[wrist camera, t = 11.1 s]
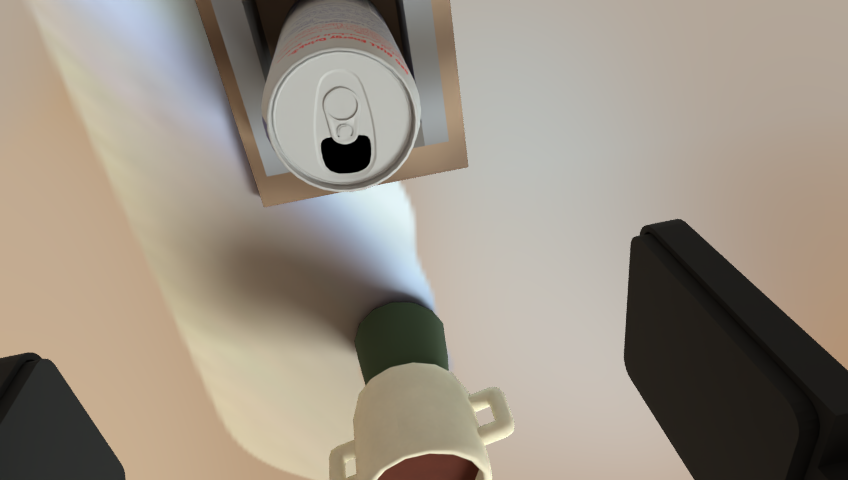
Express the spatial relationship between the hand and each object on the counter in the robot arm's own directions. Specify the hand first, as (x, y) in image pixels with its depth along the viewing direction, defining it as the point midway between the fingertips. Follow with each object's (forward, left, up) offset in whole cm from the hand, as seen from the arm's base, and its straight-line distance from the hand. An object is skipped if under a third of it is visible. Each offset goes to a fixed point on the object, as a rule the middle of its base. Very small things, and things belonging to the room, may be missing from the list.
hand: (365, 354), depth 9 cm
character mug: (+20, 0, -24) cm, 32 cm away
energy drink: (0, 0, -23) cm, 23 cm away
